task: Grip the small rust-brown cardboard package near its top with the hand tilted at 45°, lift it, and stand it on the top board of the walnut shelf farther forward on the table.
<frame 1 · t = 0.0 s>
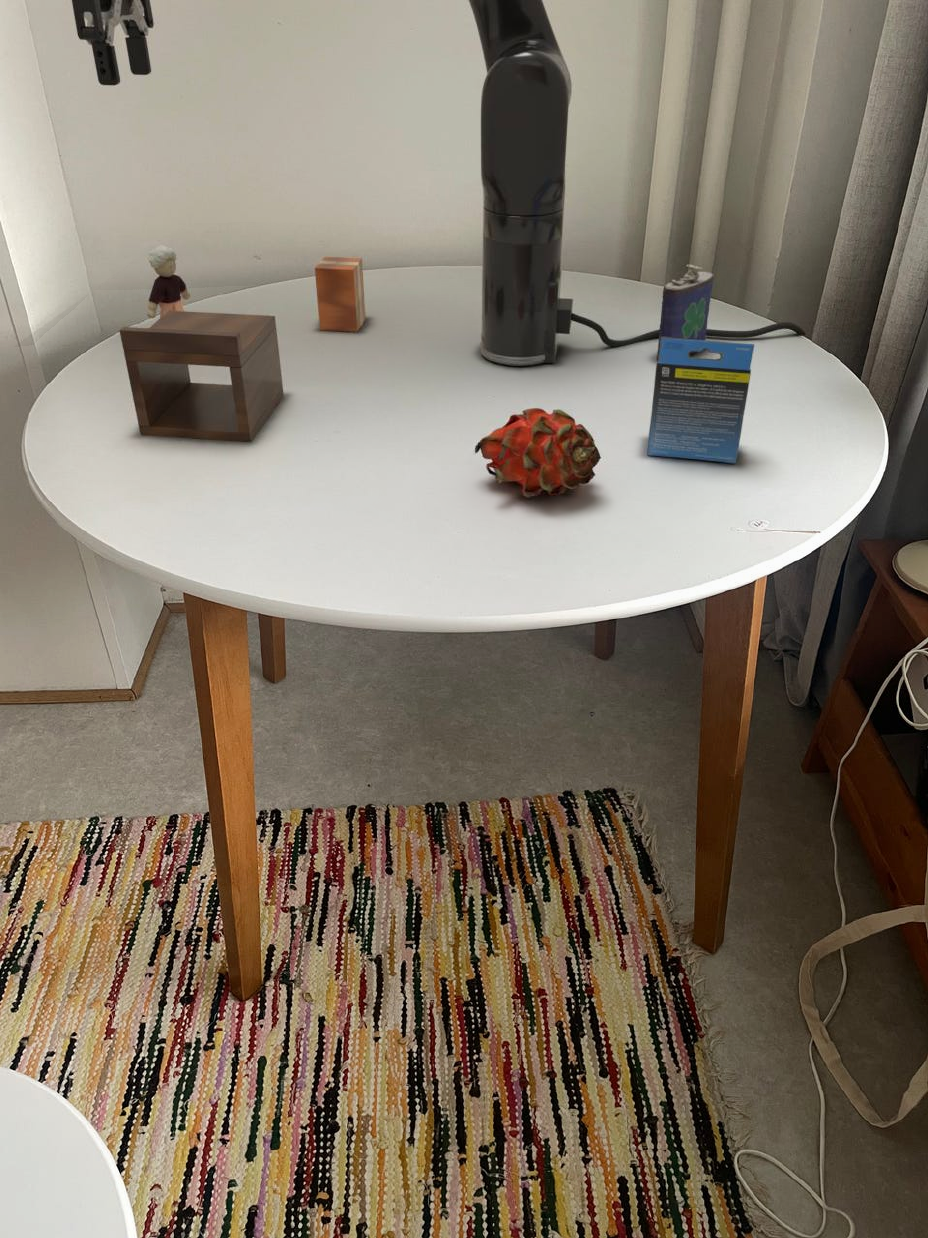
hand: (126, 79, 112), 29 cm above the table, tool pointing down, fingers open, 8 cm apart
package: (343, 324, 132), on the table
dragon fruit: (535, 490, 95), on the table
grandmother figurine: (179, 351, 125), on the table
shelf: (214, 414, 109), on the table
flask: (681, 354, 124), on the table
tape cartridge: (690, 454, 101), on the table
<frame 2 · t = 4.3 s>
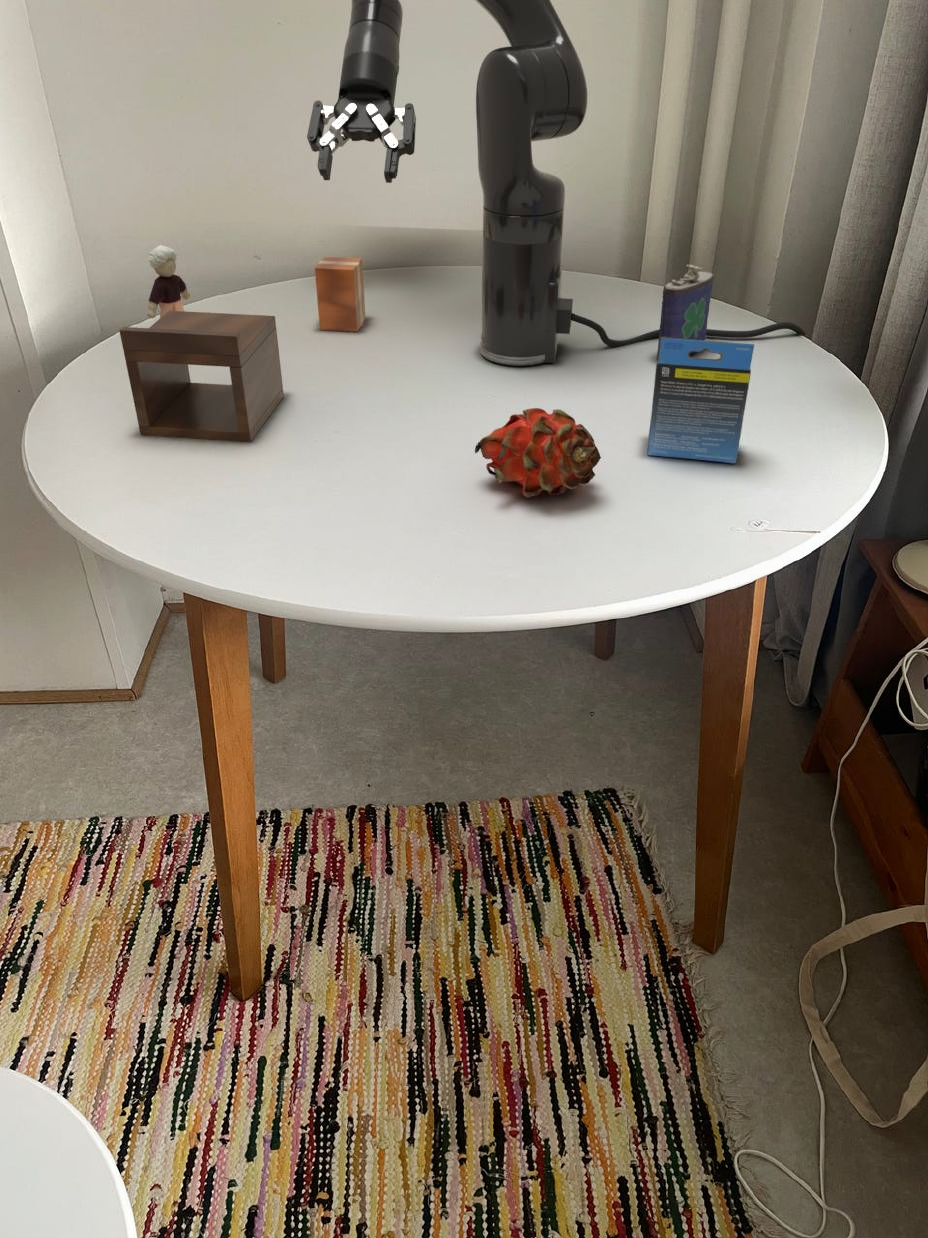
hand: (356, 177, 133), 16 cm above the table, tool tilted 45°, fingers open, 8 cm apart
nothing on the table moved.
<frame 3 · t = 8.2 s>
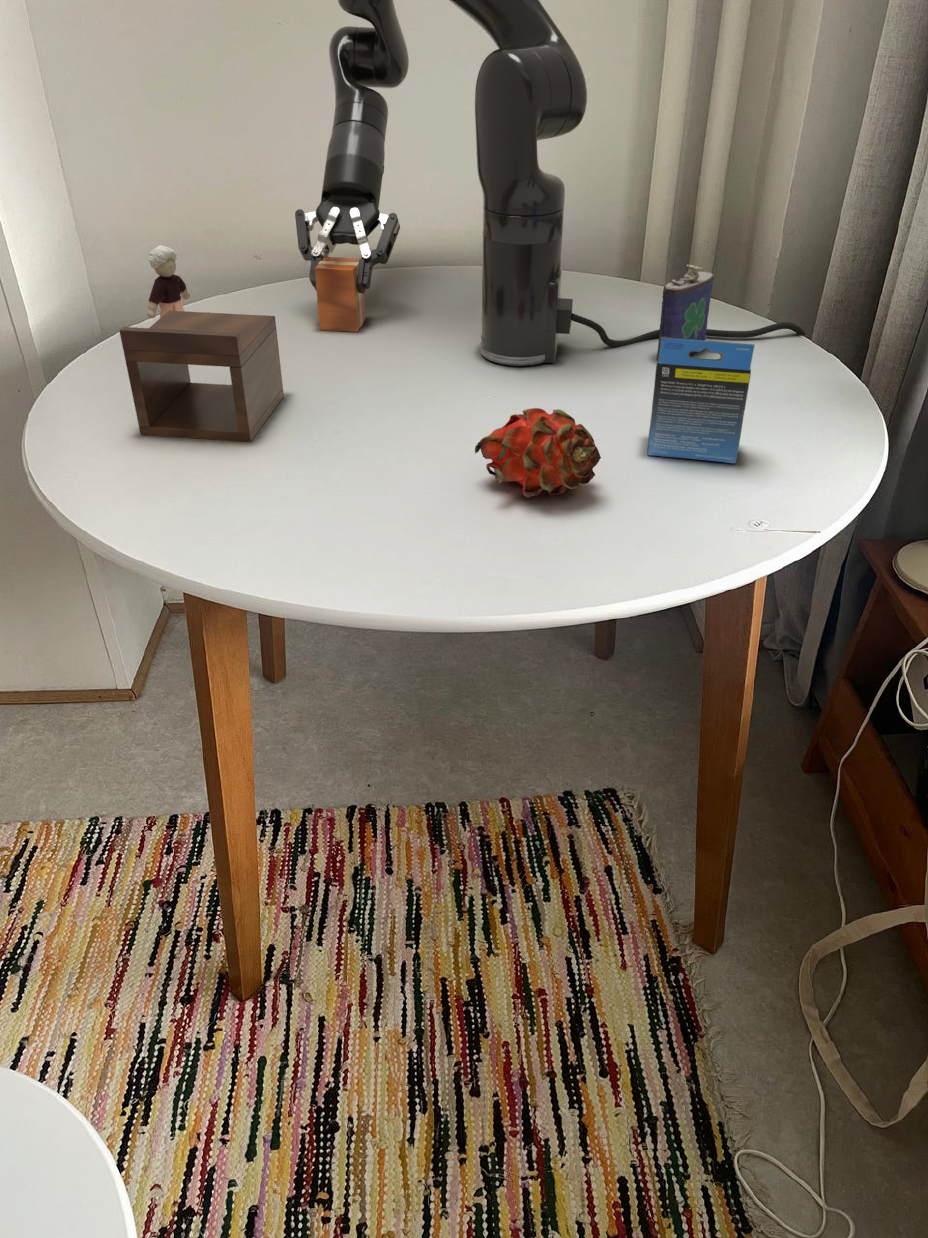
hand: (339, 288, 128), 5 cm above the table, tool tilted 45°, fingers closed on package, 5 cm apart
package: (343, 324, 132), on the table, touching gripper
everything else where it was.
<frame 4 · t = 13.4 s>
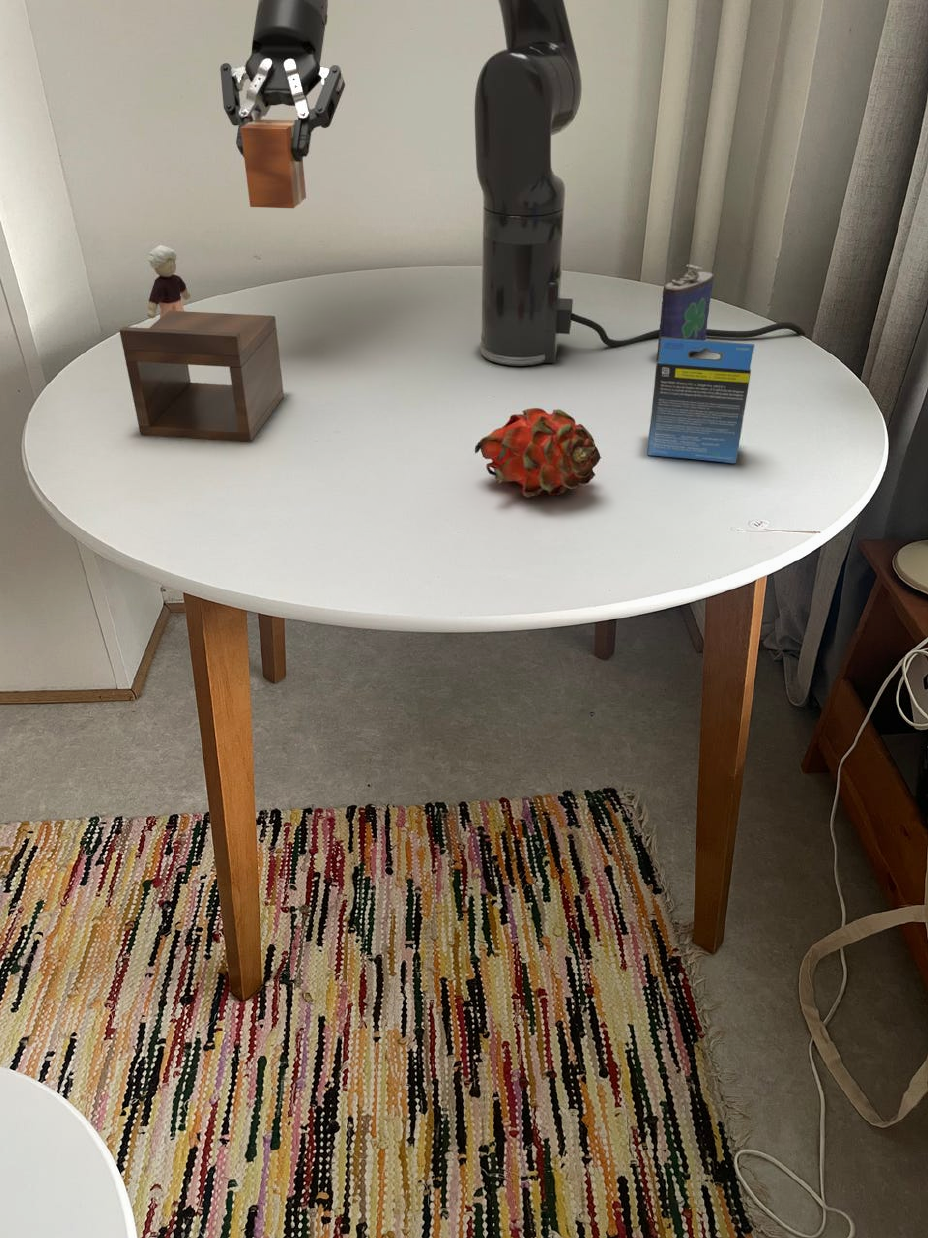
hand: (271, 155, 108), 23 cm above the table, tool tilted 45°, fingers closed on package, 5 cm apart
package: (278, 202, 112), point 18 cm above the table, touching gripper
everything else where it was.
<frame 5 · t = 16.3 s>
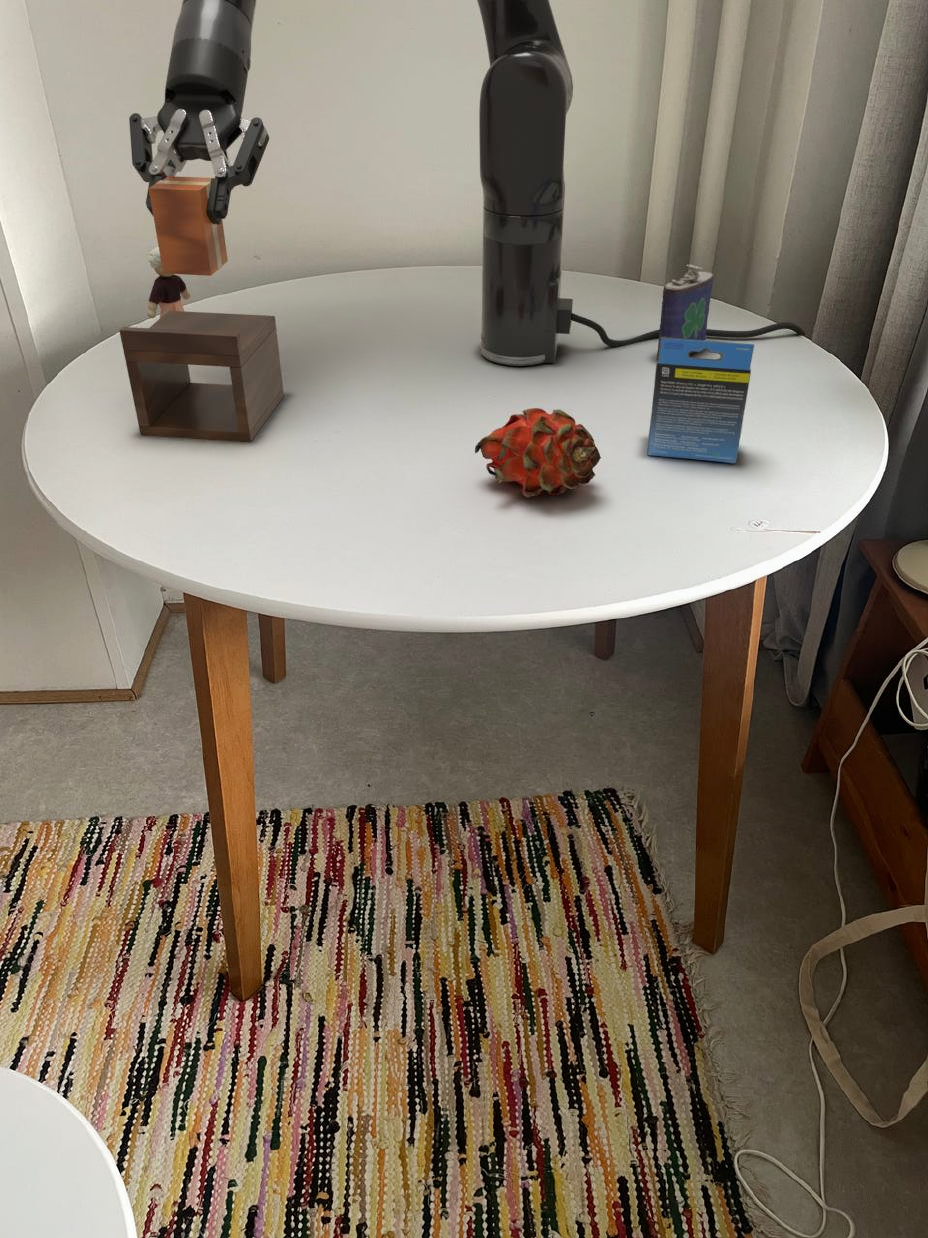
hand: (185, 217, 97), 20 cm above the table, tool tilted 45°, fingers closed on package, 5 cm apart
package: (196, 267, 101), point 15 cm above the table, touching gripper
everything else where it was.
when the fingers open (14 cm above the table, at t = 18.5 s): package stays where it is, resting on shelf.
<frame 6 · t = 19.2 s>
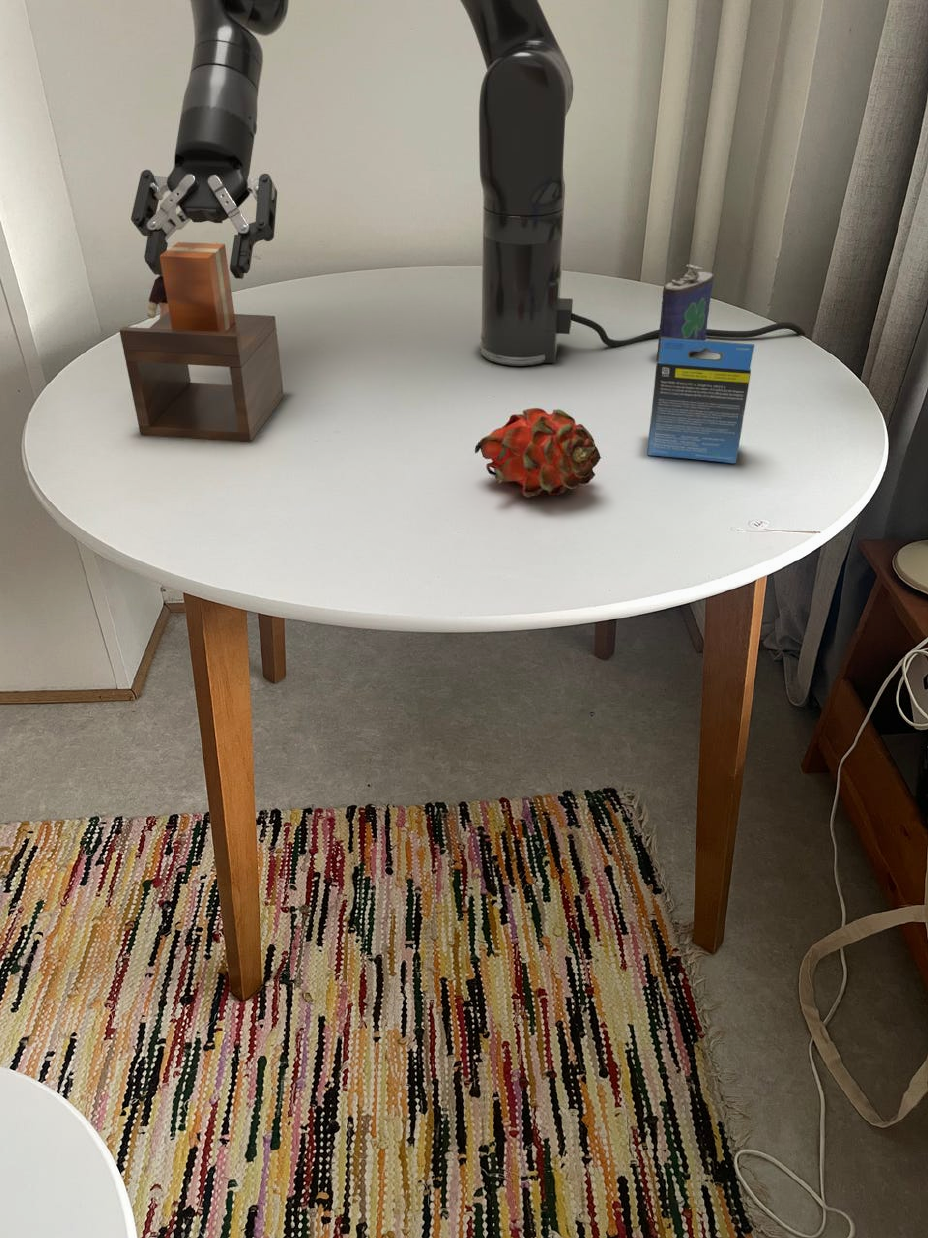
hand: (195, 272, 100), 15 cm above the table, tool tilted 45°, fingers open, 8 cm apart
package: (204, 328, 104), point 9 cm above the table, touching shelf
everything else where it was.
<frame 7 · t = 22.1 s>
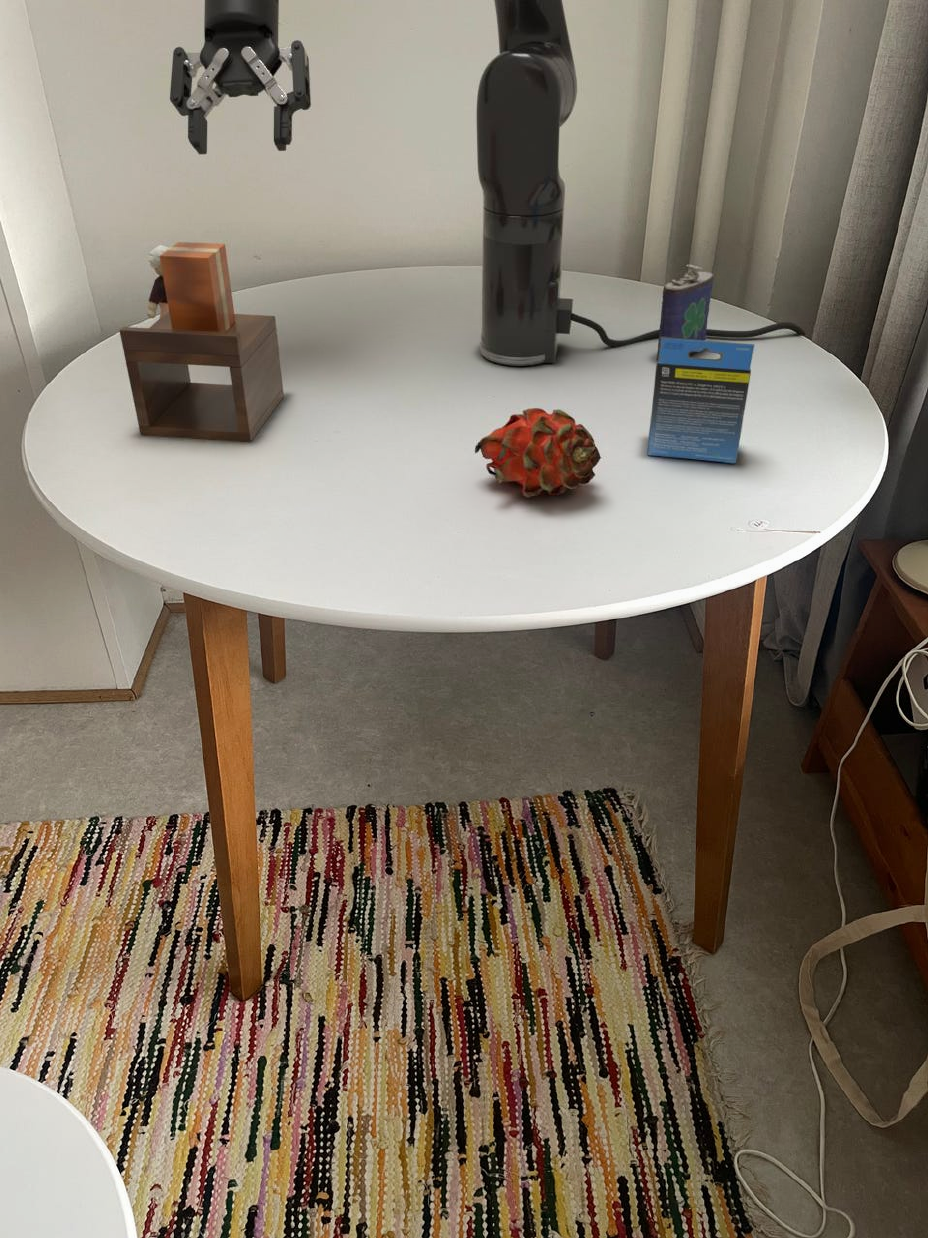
hand: (239, 148, 103), 25 cm above the table, tool tilted 40°, fingers open, 8 cm apart
nothing on the table moved.
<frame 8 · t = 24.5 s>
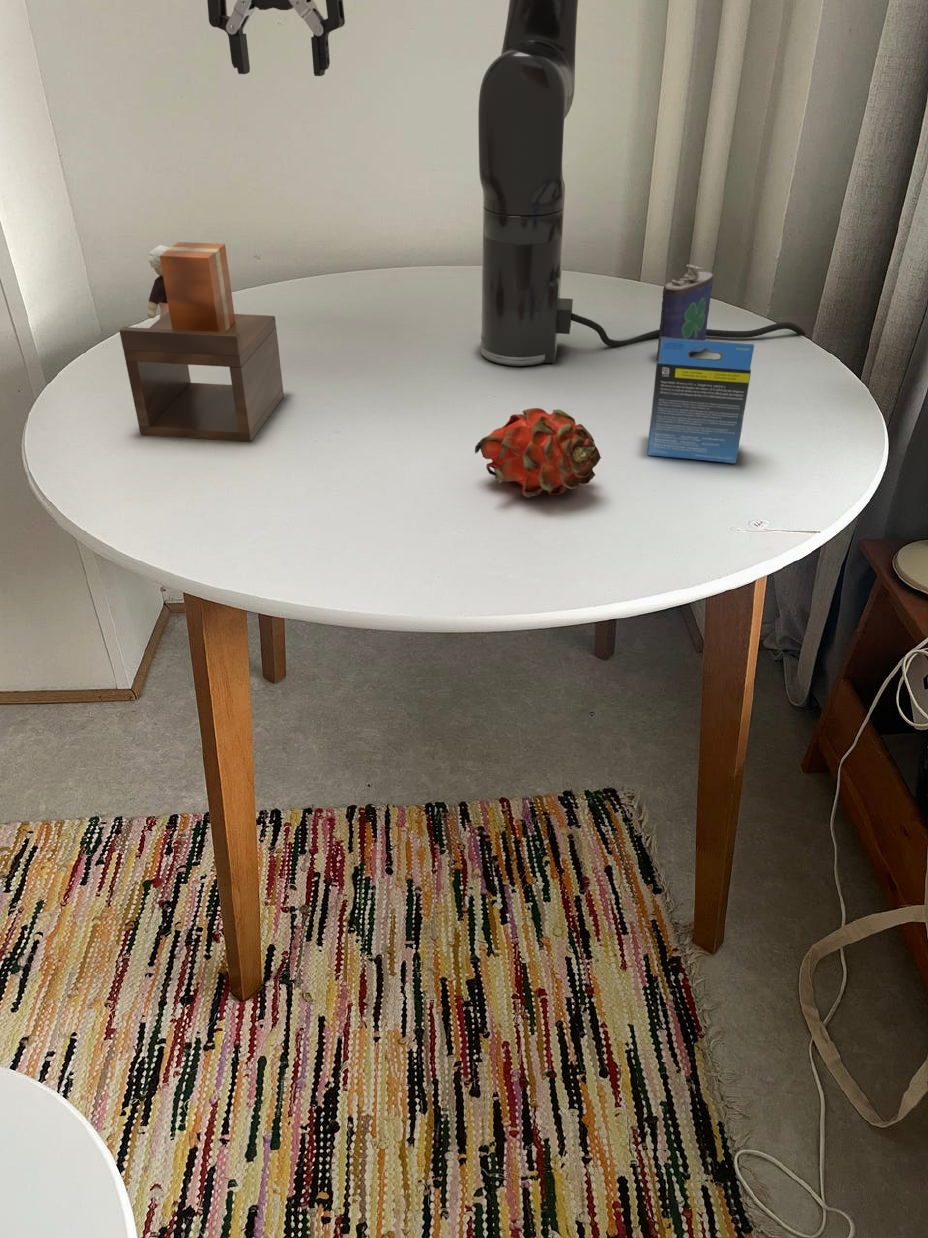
hand: (282, 74, 109), 30 cm above the table, tool pointing down, fingers open, 8 cm apart
nothing on the table moved.
at the end: package inside the target area on the shelf (0.8 cm from its centre), point 9.2 cm above the shelf's base; package tilted 0°; the gripper is holding nothing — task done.
